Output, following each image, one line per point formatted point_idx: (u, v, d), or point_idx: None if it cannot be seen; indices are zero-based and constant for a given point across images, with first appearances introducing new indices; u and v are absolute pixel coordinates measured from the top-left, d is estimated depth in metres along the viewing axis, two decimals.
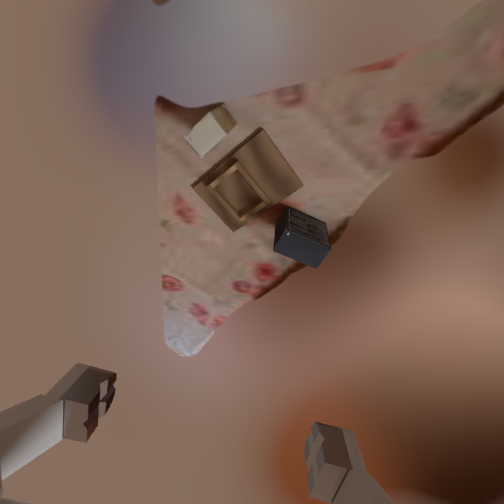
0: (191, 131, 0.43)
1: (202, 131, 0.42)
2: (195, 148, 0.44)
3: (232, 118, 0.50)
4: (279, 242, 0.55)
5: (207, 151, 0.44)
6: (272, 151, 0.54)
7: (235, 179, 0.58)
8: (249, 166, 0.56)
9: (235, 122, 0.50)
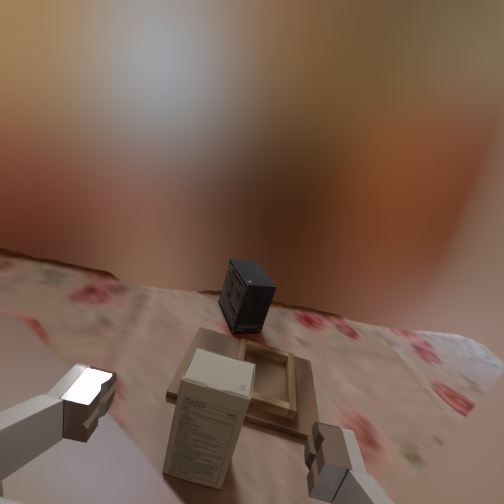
0: (231, 391, 0.22)
1: (218, 375, 0.24)
2: (249, 375, 0.24)
3: None
4: (264, 284, 0.47)
5: (239, 360, 0.26)
6: None
7: (253, 389, 0.38)
8: None
9: None
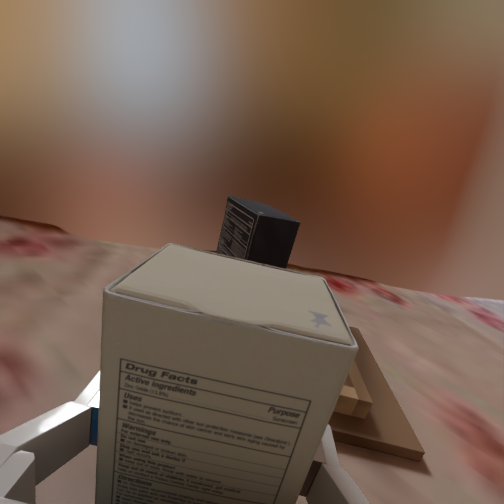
0: (287, 326, 0.06)
1: (235, 289, 0.07)
2: (323, 294, 0.08)
3: None
4: (282, 217, 0.31)
5: (282, 270, 0.10)
6: None
7: None
8: None
9: None
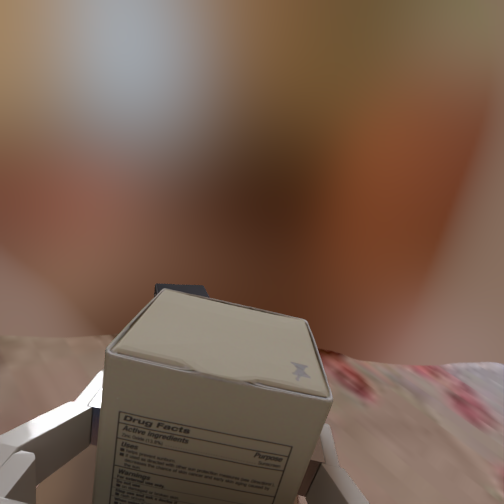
0: (271, 380, 0.07)
1: (225, 341, 0.08)
2: (305, 340, 0.09)
3: None
4: None
5: (268, 313, 0.11)
6: None
7: None
8: None
9: None
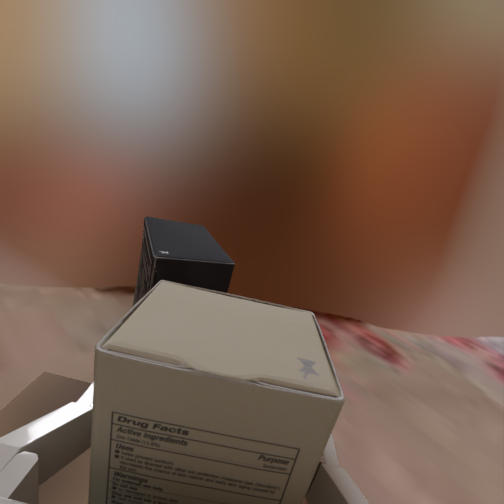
0: (276, 378, 0.07)
1: (226, 336, 0.08)
2: (312, 334, 0.09)
3: None
4: (202, 259, 0.20)
5: (272, 305, 0.10)
6: None
7: None
8: None
9: None
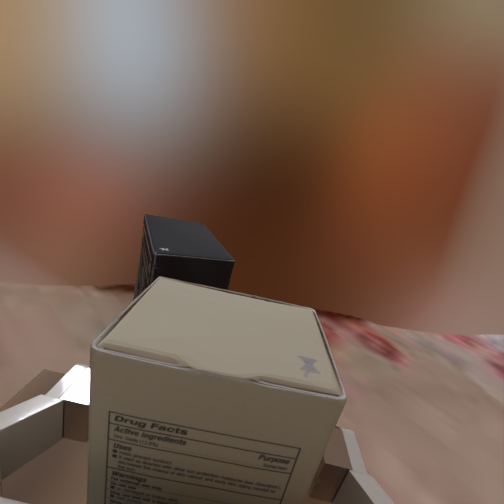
0: (276, 377, 0.06)
1: (225, 334, 0.07)
2: (313, 331, 0.08)
3: None
4: (202, 256, 0.20)
5: (273, 302, 0.10)
6: None
7: None
8: None
9: None
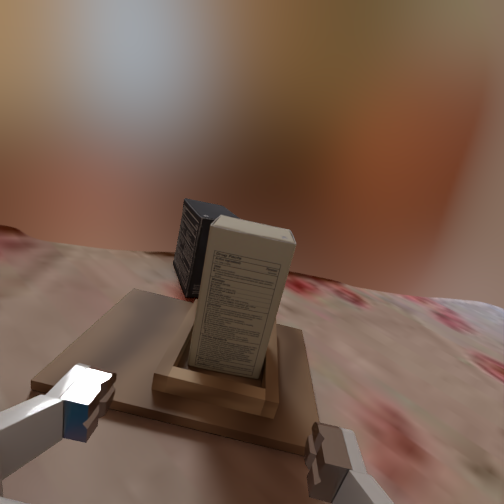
0: (272, 237, 0.19)
1: (253, 228, 0.20)
2: (287, 233, 0.21)
3: None
4: None
5: (271, 226, 0.22)
6: (88, 342, 0.22)
7: (205, 372, 0.22)
8: (153, 362, 0.21)
9: None
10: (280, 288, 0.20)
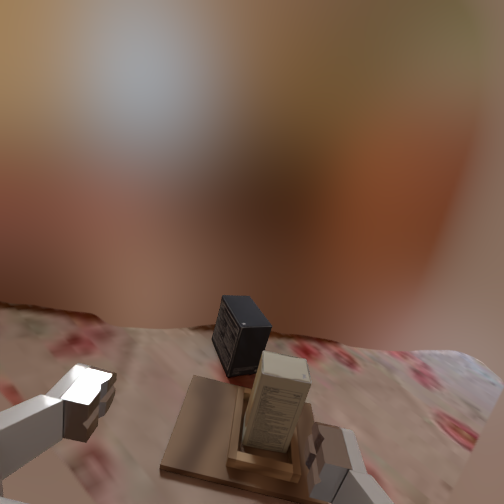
0: (297, 378, 0.32)
1: (285, 369, 0.33)
2: (305, 367, 0.34)
3: (246, 411, 0.37)
4: (259, 325, 0.45)
5: (294, 357, 0.36)
6: (180, 431, 0.35)
7: (253, 449, 0.35)
8: (221, 444, 0.35)
9: (247, 407, 0.38)
10: (301, 405, 0.33)
